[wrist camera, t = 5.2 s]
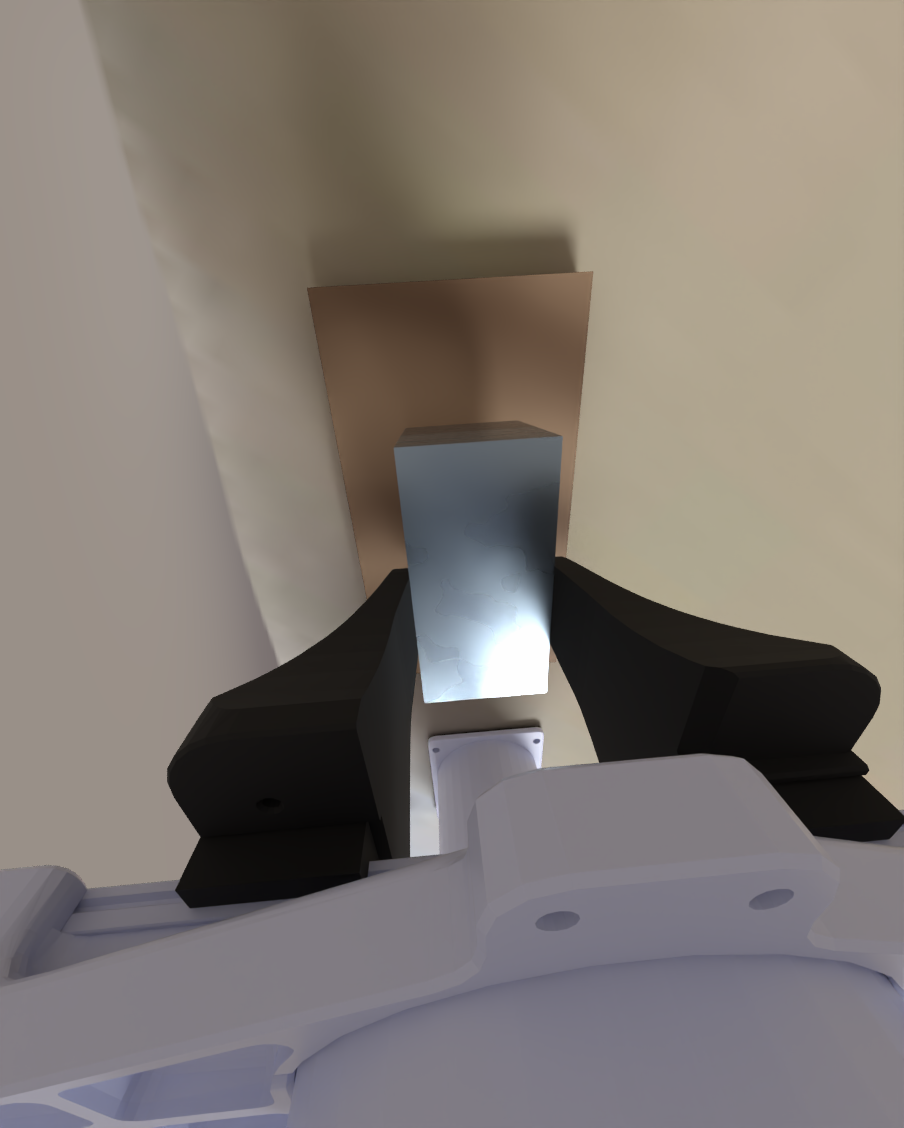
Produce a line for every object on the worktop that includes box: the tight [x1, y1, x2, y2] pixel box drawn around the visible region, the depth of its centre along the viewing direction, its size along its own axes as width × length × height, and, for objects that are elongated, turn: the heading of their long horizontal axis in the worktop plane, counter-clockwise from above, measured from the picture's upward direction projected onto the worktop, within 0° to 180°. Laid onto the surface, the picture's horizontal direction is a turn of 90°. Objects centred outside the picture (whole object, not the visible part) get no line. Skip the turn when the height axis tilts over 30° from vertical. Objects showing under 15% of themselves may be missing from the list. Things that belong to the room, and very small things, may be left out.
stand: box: [307, 271, 593, 673], centre depth 18 cm, size 18×10×2 cm, turn 3°
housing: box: [394, 420, 563, 703], centre depth 13 cm, size 4×8×5 cm, turn 3°
